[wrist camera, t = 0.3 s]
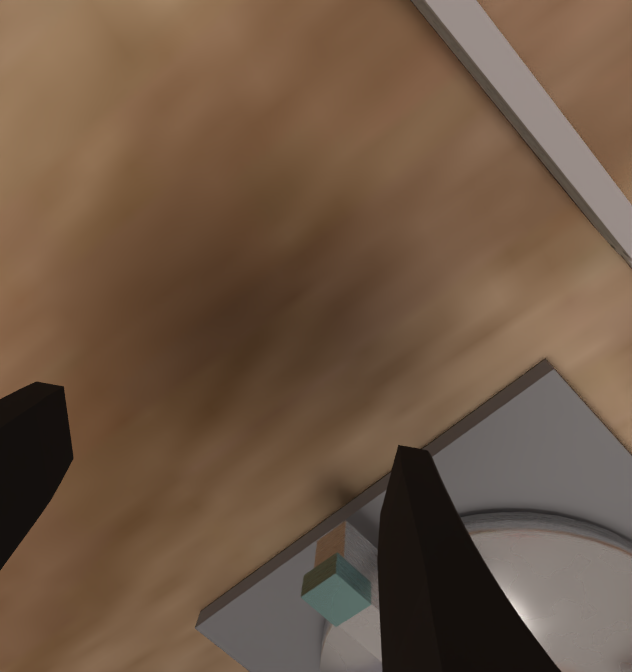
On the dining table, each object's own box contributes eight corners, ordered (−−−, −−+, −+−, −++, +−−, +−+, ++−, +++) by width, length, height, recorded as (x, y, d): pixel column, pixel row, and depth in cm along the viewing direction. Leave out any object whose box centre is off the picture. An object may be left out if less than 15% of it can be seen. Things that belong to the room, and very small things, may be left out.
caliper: (225, -184, 16) (146, -363, 10) (249, -220, 16) (181, -426, 10) (637, 278, 20) (748, 337, 14) (663, 257, 20) (789, 309, 14)
